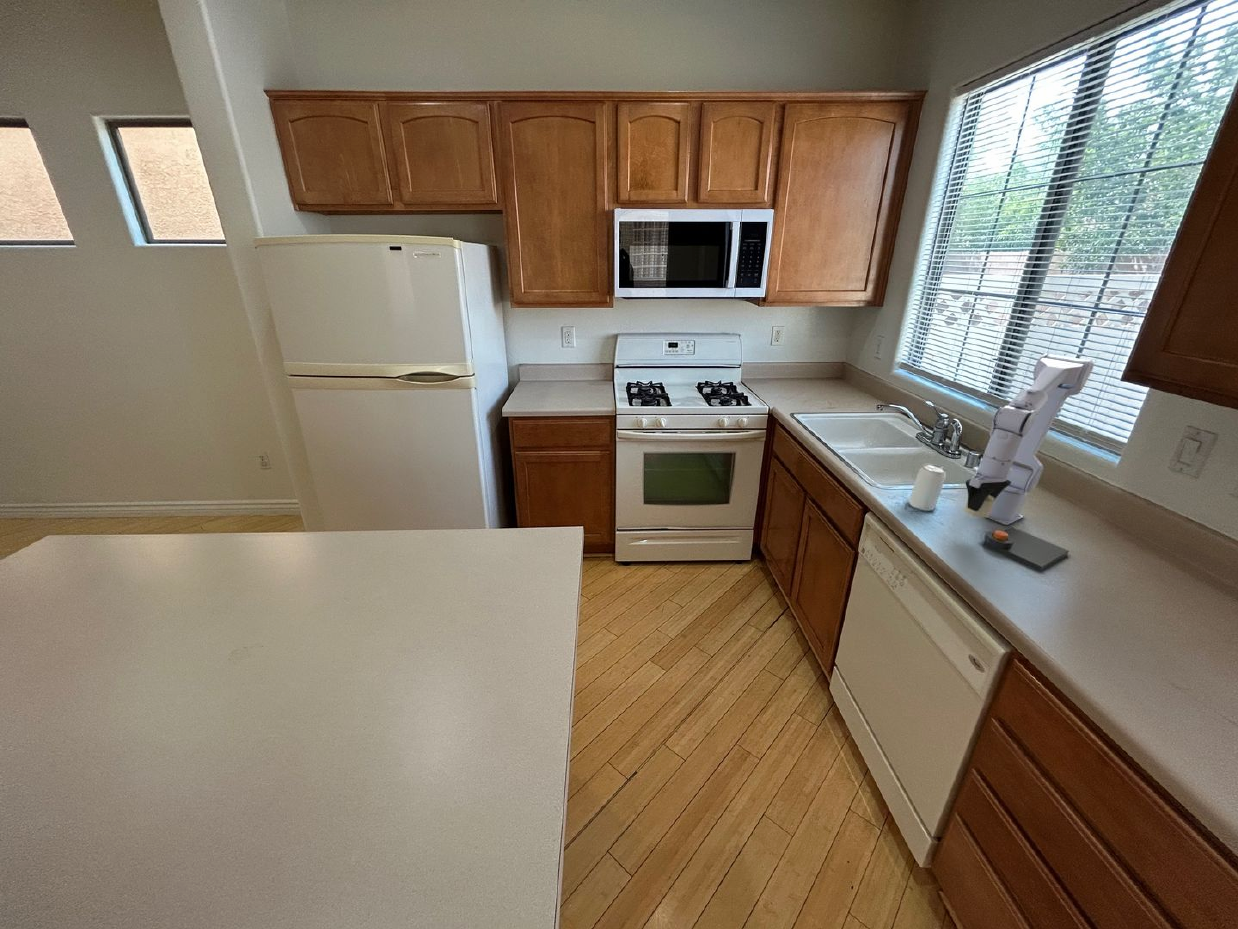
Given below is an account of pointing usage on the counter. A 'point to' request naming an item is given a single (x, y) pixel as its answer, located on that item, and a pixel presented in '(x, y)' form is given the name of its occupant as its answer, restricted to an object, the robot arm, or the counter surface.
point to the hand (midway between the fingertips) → (978, 506)
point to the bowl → (982, 508)
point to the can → (927, 487)
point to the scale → (1025, 548)
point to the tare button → (1000, 535)
